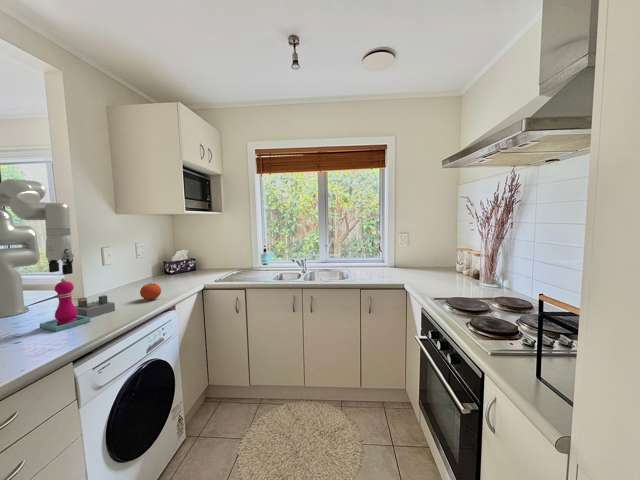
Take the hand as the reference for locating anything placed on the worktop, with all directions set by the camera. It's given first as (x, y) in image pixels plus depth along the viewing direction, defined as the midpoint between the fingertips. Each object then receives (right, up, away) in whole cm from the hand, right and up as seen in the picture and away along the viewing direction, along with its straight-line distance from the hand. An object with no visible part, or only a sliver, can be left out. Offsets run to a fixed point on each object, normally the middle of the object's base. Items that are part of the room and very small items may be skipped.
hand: (60, 272), depth 118 cm
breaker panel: (0, -21, +17) cm, 27 cm away
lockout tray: (+1, -23, +1) cm, 23 cm away
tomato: (+15, -20, +39) cm, 46 cm away
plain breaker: (+4, -17, +18) cm, 25 cm away
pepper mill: (+2, -22, +1) cm, 22 cm away
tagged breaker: (-3, -17, +15) cm, 23 cm away
